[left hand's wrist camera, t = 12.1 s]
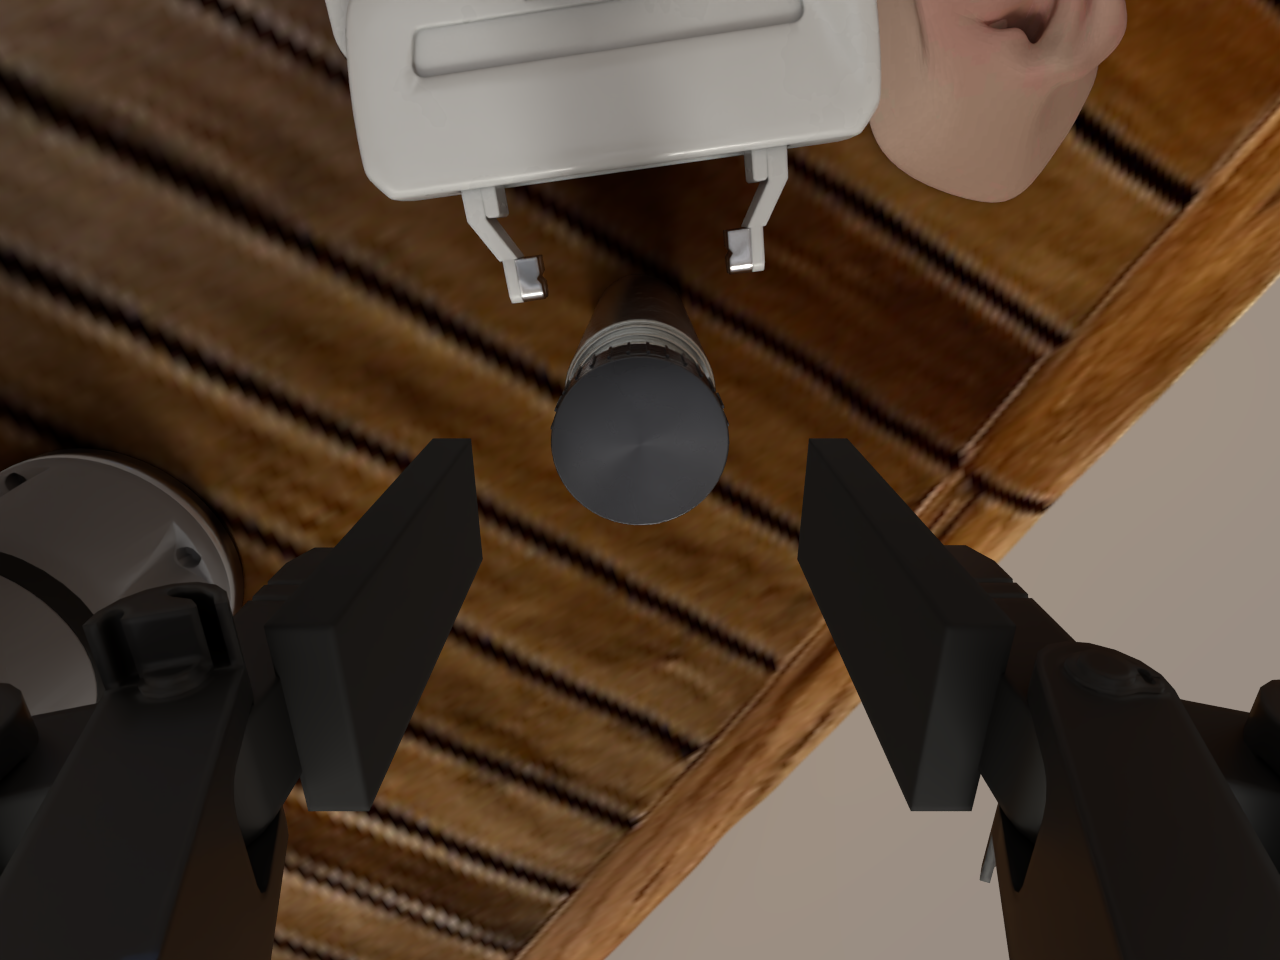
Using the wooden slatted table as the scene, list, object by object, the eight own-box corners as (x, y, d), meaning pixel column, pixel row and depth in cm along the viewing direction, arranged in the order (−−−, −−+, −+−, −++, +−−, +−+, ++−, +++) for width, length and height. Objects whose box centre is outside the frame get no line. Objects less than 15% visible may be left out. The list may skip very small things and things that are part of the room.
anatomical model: (1114, 203, 30) (859, 196, 30) (1062, 204, 34) (835, 198, 34) (1215, -177, 25) (911, -187, 25) (1142, -128, 29) (877, -137, 29)
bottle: (636, 383, 38) (632, 557, 19) (576, 316, 36) (507, 432, 18) (703, 324, 37) (771, 447, 18) (644, 253, 35) (648, 304, 16)
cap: (633, 530, 20) (632, 559, 18) (521, 417, 19) (510, 437, 17) (757, 431, 19) (768, 452, 17) (647, 303, 18) (648, 313, 16)
